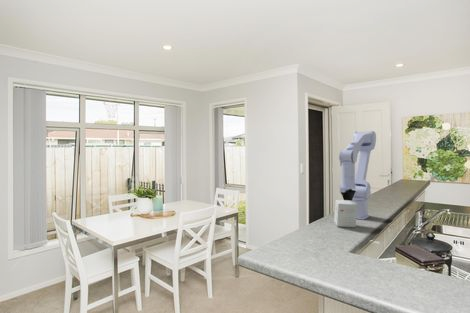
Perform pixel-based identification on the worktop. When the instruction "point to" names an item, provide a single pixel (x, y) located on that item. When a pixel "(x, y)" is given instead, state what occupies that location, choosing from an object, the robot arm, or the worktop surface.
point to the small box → (345, 213)
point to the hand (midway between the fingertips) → (347, 206)
